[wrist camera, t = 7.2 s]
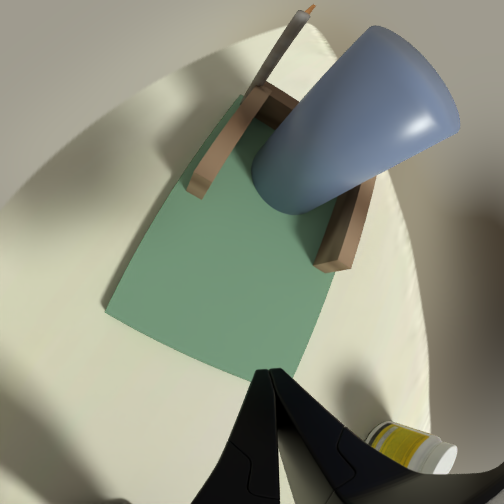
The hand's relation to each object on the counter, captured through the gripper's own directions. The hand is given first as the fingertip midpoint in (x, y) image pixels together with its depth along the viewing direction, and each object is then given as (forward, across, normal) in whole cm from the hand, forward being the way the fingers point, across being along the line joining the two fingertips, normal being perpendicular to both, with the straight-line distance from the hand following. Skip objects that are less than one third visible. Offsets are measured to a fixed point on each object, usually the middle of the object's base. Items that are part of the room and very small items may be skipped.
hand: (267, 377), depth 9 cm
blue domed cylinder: (+14, -4, -6) cm, 16 cm away
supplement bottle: (+6, -12, +17) cm, 22 cm away
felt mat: (+12, -1, -2) cm, 13 cm away
